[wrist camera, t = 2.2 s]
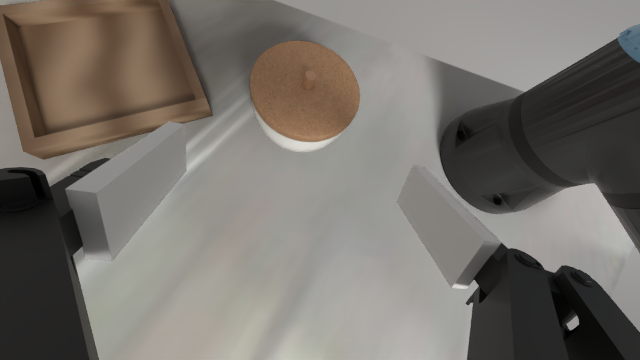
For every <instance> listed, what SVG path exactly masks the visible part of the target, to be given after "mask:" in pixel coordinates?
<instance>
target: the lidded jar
mask: <svg viewBox="0 0 640 360" xmlns="http://www.w3.org/2000/svg"><path fill="white" fill-rule="evenodd" d="M250 93H251V99H252V103H253V109H254V112H255V115H256V118H257V121H258V123H259V125H260V127H261V128H262V130H263V132H264V133H265V134H266V135H267V137H268V138H270V139H271V140H272V141H273V142H274V143H276V144H277V145H279V146H281V147H282V148H284V149H287V150H290V151H295V152H311V151H315V150H319V149H321V148H323V147H325V146H327V145H328V144H330V143H331V142H333V141H334V140H335V139H336V138H337V137H338V136H339V135H340V134H341V133H342V132H343V131H344V129H345V128H346V127H347V126H348V125H349V124H350V123H351V121H352V120H353V118H354V117H355V115H356V113H357V110H358V107H359V101H360V93H359V86H358V83H357V80H356V78H355V75H354V73H353V72H352V70H351V68H350V67H349V66H348V64H347V63H346V62H345V61H344V60H343V59H342V58H341V57H340V56H339V55H337V54H336V53H335V52H333V51H332V50H330V49H328V48H326V47H324V46H322V45H319V44H316V43H312V42H308V41H287V42H283V43H279V44H277V45H275V46H273V47H270V48H269V49H268V50H266V51H265V52H264V53H263V54H261V55H260V56H259V58H258V59H257V61H256V62H255V63H254V66H253V68H252V70H251V75H250Z"/></svg>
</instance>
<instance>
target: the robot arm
mask: <svg viewBox="0 0 640 360" xmlns="http://www.w3.org/2000/svg"><path fill="white" fill-rule="evenodd" d="M441 158H442V164H443V167H444V170H445V173H446V175H447V177H448V179H449V181H450V183H451V184H452V186H453V187H454V189H455V190H456V191H457V193H458V194H459V195H460V196H461V197H462V198H463V199H464V200H465V201H467V202H468V203H469V204H471V205H472V206H474V207H475V208H477V209H479V210H482V211H484V212H488V213H492V214H503V213H510V212H517V211H521V210H524V209H527V208H529V207H531V206H532V205H534V204H536V203H538V202H540V201H542V200H544V199H546V198H548V197H550V196H552V195H553V194H555V193H557V192H559V191H561V190H563V189H565V188H568V187H573V186H578V185H583V184H589V183H595V184H596V185H597V187H598V188H599V189H600V191H601V193H602V194H603V196H604V197H605V199H606V200H607V202H608V203H609V205H610V207H611V208H612V210H613V211H614V213H615V214H616V216H617V217H618V219H619V221H620V222H621V224H622V225H623V227H624V229H625V230H626V232H627V233H628V235H629V237H630V238H631V240H632V241H633V243H634V245H635V246H636V248H637V249H638V251H639V253H640V24H639V25H635V26H632V27H630V28H628V29H626V30H625V31H624V32H622V33H620V36H619V37H618V38H617V39H615V40H613V41H612V42H610V43H608V44H607V45H605V46H603V47H601V48H600V49H598V50H596V51H595V52H593V53H591V54H590V55H588V56H586V57H585V58H583V59H581V60H579V61H578V62H576V63H574V64H573V65H571V66H569V67H568V68H566V69H564V70H562V71H561V72H559V73H557V74H556V75H554V76H552V77H550V78H549V79H547V80H545V81H544V82H542V83H540V84H538V85H536V86H535V87H533V88H532V89H530V90H528V91H527V92H525V93H523V94H521V95H520V96H518V97H516V98H513V99H510V100H506V101H502V102H498V103H495V104H491V105H487V106H483V107H479V108H476V109H473V110H470V111H468V112H466V113H465V114H463V115H462V116H460V117H459V118H457V119H456V120H454V121H453V122H452V123H451V124H450V125H449V126H448V127H447V129H446V131H445V133H444V135H443V138H442V142H441ZM185 172H186V142H185V124H181V123H175V122H170V121H169V122H167V123H166V124H164V125H163V126H161V127H159V128H158V129H156V130H155V131H153V132H152V133H150V134H149V135H147V136H146V137H144V138H143V139H141V140H139V141H138V142H136V143H135V144H133V145H132V146H130V147H129V148H127V149H126V150H124V151H123V152H121V153H120V154H118V155H116V156H115V157H113V158H112V159H109V158H104V159H100V160H97V161H94V162H91V163H89V164H87V165H85V166H84V167H82V168H80V169H79V171H76V172H74V173H72V174H71V175H70V176H67V177H66V178H64V179H62V180H61V181H59V182H57V183H56V184H54V185H52V186H51V187H49V184H48V181H47V178H46V175H45V174H44V173H43V172H42V171H41V170H38V169H35V168H25V167H16V168H4V169H0V360H99V358H98V354H97V350H96V346H95V342H94V338H93V334H92V330H91V326H90V322H89V318H88V314H87V310H86V305H85V301H84V297H83V293H82V289H81V285H80V281H79V277H78V273H77V269H76V265H75V262H74V259H73V255H74V254H75V253H76V252H77V251H78V250H79V249H80V248H81V247H83V250H84V253H85V257H86V259H92V260H105V261H113V260H114V258H115V257H116V256H117V255H118V253H119V252H120V251H121V250H122V249H123V247H124V246H125V245H126V244H127V243H128V241H129V240H130V239H131V238H132V236H133V235H134V234H135V233H136V232H137V230H138V229H139V228H140V227H141V225H142V224H143V223H144V222H145V221H146V219H147V218H148V217H149V216H150V215H151V213H152V212H153V211H154V210H155V208H156V207H157V206H158V205H159V204H160V202H161V201H162V200H163V199H164V197H165V196H166V195H167V194H168V193H169V191H170V190H171V189H172V188H173V187H174V185H175V184H176V183H177V182H178V180H179V179H180V178H181V177H182V176H183V174H184V173H185ZM397 203H398V204H399V206H400V208H401V209H402V211H403V212H404V214H405V216H406V217H407V219H408V220H409V222H410V223H411V225H412V227H413V228H414V230H415V231H416V233H417V234H418V236H419V238H420V239H421V241H422V242H423V244H424V245H425V247H426V249H427V250H428V252H429V253H430V255H431V256H432V258H433V260H434V261H435V263H436V264H437V266H438V267H439V269H440V271H441V272H442V274H443V275H444V277H445V278H446V280H447V282H448V283H449V285H450V286H451V288H461V289H467V288H468V286H469V285H470V284H471V282H472V281H473V280H475V281H476V282H477V284H478V285H479V287H478V288H477V289H476V290H475V292H474V293H473V294H472V296H471V297H470V298H469V299H468V301H467V302H466V304H467V305H469V304H470V303H472V302H473V307H472V308H473V310H472V319H471V329H470V338H469V347H468V356H467V360H640V332H639V331H638V330H637V329H636V327H635V326H633V324H632V323H631V321H629V319H628V318H627V317H626V316H625V314H624V313H623V312H622V311H621V310H620V308H619V307H618V306H617V305H616V304H615V303H614V301H613V300H612V299H611V298H610V297H609V295H608V294H607V293H606V292H605V291H604V289H603V288H602V287H601V286H600V285H599V284H598V283H597V282H596V281H595V280H593V279H592V278H591V277H590V276H589V275H588V274H586V273H584V272H583V271H581V270H577V269H575V268H573V267H570V266H561V267H560V268H559V269H558V270H557V271H556V272H555V273H552V272H549V271H546V270H544V268H543V266H542V265H541V264H540V263H539V262H538V261H537V260H536V259H534V258H533V257H532V256H530V255H528V254H526V253H525V252H522V251H520V250H517V249H513V248H511V249H508V248H507V247H506V246H505V245H503V244H502V243H501V242H500V241H499V240H498V239H497V238H496V237H495V236H494V235H493V234H492V233H491V232H490V231H489V230H488V229H487V228H486V227H485V226H484V225H483V224H482V223H481V222H480V221H479V220H478V219H477V218H476V217H475V216H474V215H473V214H472V213H470V212H469V211H468V210H467V209H466V208H465V207H464V206H463V205H462V204H461V203H460V202H459V201H458V200H457V199H456V198H455V197H454V196H453V195H452V194H451V193H450V192H449V191H448V190H447V189H446V188H445V187H444V186H443V185H442V184H441V183H440V182H439V181H438V180H437V179H436V178H435V177H434V176H433V175H432V174H431V173H430V172H429V171H428V170H427V169H425V168H424V167H421V166H415V165H413V166H412V168H411V171H410V173H409V175H408V177H407V180H406V182H405V184H404V186H403V189H402V191H401V193H400V195H399V198H398V200H397ZM576 315H577V316H578V319H579V325H578V326H577V327H576V328H574V329H573V330H571V331H570V330H569V329H568V327H567V325H566V324H567V323H568V322H569V321H571V320H572V319H573V318H574V317H575V316H576Z"/></svg>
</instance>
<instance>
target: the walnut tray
mask: <svg viewBox="0 0 640 360" xmlns="http://www.w3.org/2000/svg"><path fill="white" fill-rule="evenodd" d="M0 59H1V64H2V68H3V72H4V76H5V80H6V84H7V88H8V92H9V96H10V100H11V104H12V108H13V112H14V116H15V120H16V124H17V128H18V132H19V137H20V141H21V145H22V149H23V151H24V152H26V153H29V154H31V155H34V156H36V157H39V158H41V159H48V158H52V157H55V156H59V155H63V154H67V153H71V152H75V151H78V150H82V149H86V148H90V147H94V146H98V145H102V144H105V143H109V142H113V141H117V140H121V139H125V138H128V137H132V136H136V135H140V134H144V133H148V132H151V131H155V130H156V129H158V128H159V127H161V126H163V125H164V124H166V123H167V122H169V121H170V122H175V123H181V124H182V123H186V122H190V121H194V120H198V119H201V118H205V117H209V116H213V115H212V112H211V110H210V107H209V104H208V102H207V99H206V97H205V94H204V92H203V89H202V86H201V84H200V81H199V79H198V76H197V74H196V71H195V68H194V66H193V63H192V61H191V58H190V56H189V53H188V50H187V48H186V45H185V43H184V40H183V38H182V35H181V32H180V30H179V27H178V25H177V22H176V20H175V17H174V14H173V12H172V9H171V7H170V4H169V2H168V0H50V1H40V2H31V3H21V4H11V5H1V6H0Z"/></svg>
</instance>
